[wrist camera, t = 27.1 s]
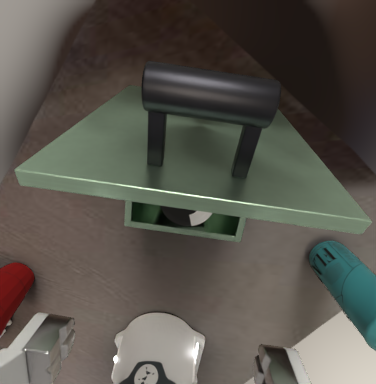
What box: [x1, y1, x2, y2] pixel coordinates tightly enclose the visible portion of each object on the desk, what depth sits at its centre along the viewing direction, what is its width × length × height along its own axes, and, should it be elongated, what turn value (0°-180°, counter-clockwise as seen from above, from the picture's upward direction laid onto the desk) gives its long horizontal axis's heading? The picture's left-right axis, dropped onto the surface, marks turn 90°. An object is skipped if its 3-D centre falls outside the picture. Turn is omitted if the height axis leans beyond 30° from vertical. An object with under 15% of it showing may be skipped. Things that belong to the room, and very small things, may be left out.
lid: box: [14, 61, 372, 234], centre depth 15 cm, size 16×15×5 cm
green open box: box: [124, 201, 246, 242], centre depth 30 cm, size 16×15×10 cm
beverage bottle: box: [309, 241, 376, 350], centre depth 30 cm, size 6×7×20 cm
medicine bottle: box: [160, 205, 212, 226], centre depth 29 cm, size 7×7×12 cm
